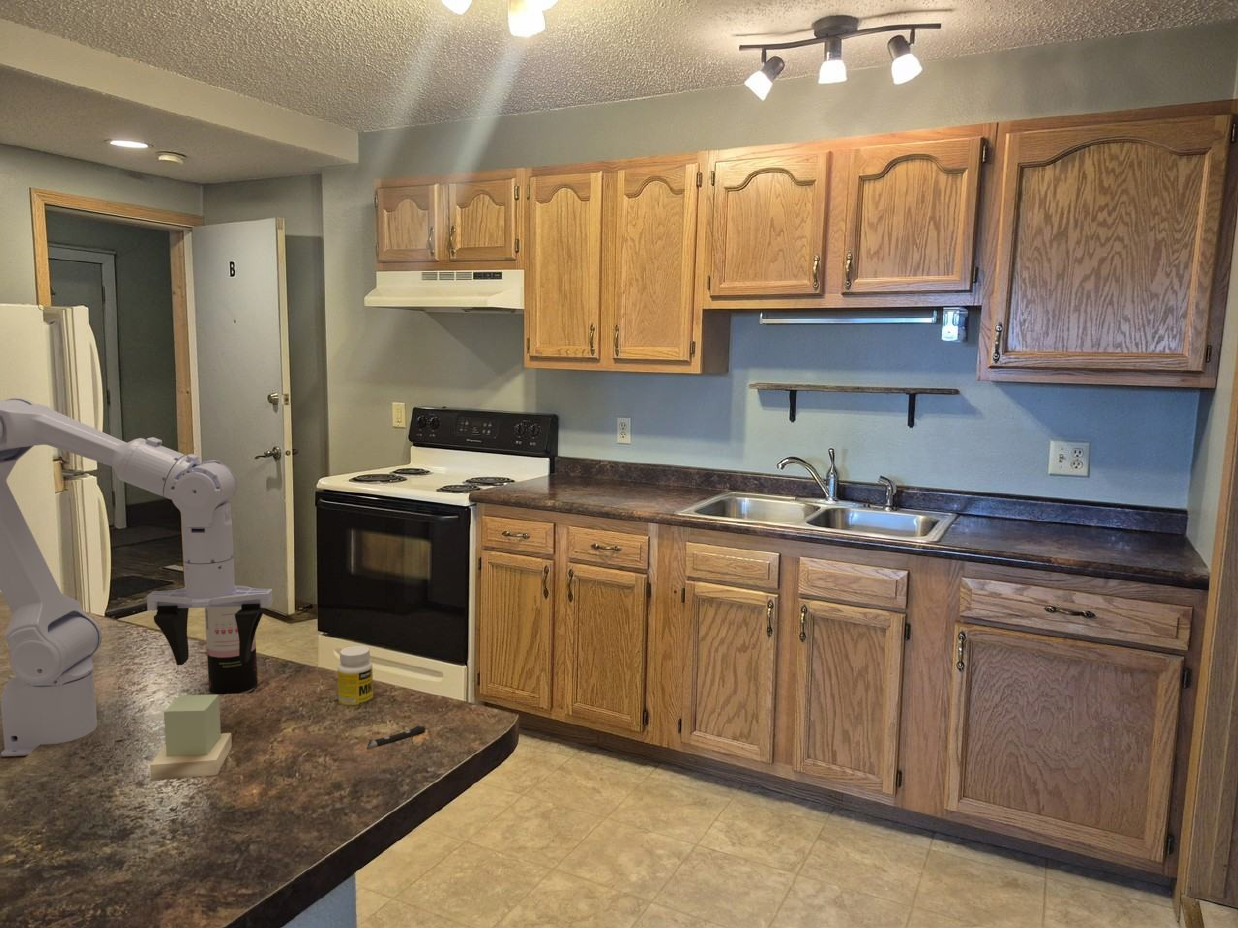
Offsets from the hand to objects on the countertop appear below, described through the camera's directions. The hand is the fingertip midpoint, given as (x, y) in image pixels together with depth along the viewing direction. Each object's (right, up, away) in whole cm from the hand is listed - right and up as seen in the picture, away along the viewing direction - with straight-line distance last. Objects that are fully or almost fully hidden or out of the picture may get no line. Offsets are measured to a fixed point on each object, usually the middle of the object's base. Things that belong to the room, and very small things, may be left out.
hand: (214, 661), depth 107 cm
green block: (+1, -8, -8) cm, 11 cm away
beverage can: (-5, -8, +17) cm, 19 cm away
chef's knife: (+18, -11, -1) cm, 21 cm away
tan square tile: (+1, -10, -8) cm, 13 cm away
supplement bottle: (+15, -9, +11) cm, 21 cm away
